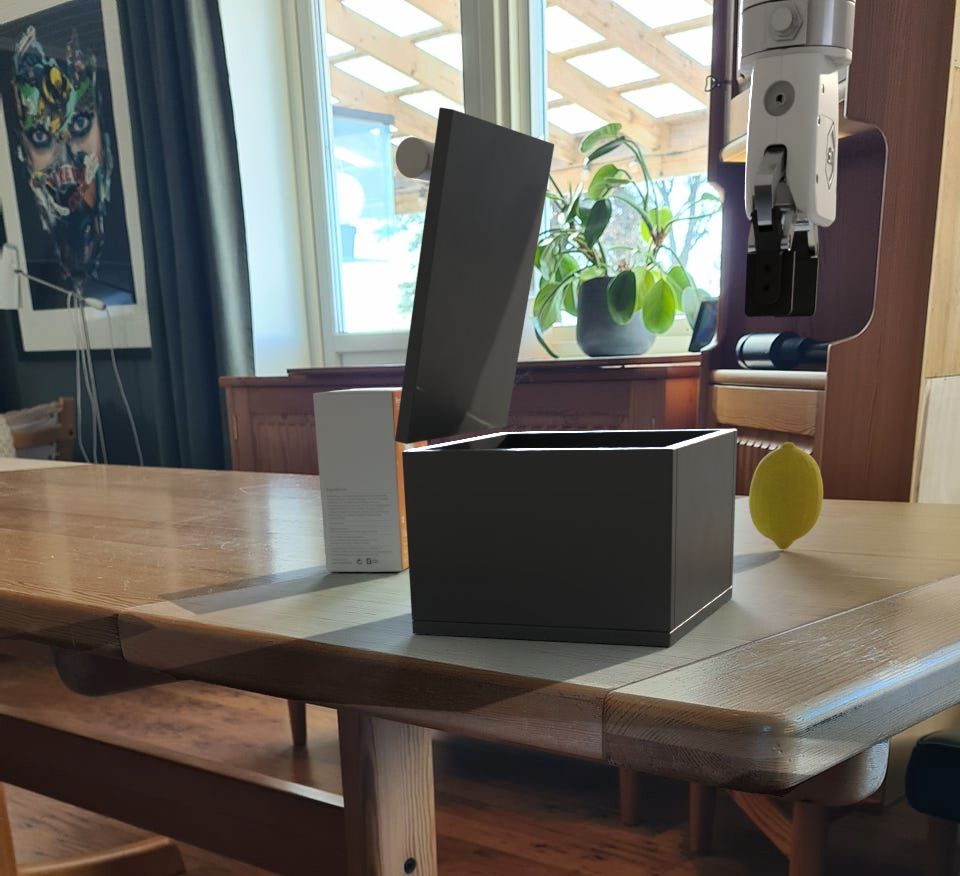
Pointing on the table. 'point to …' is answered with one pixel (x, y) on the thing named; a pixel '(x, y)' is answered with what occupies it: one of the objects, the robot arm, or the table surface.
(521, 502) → the chest
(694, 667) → the table surface
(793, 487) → the lemon
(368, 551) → the small box
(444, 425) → the lid
